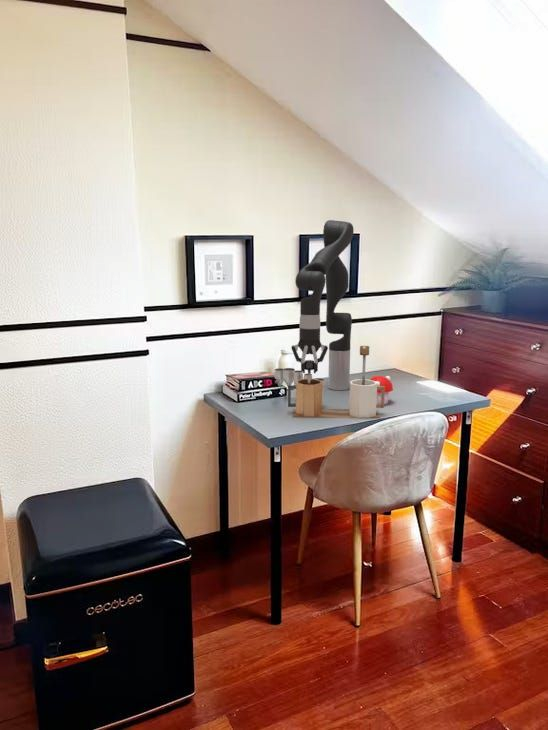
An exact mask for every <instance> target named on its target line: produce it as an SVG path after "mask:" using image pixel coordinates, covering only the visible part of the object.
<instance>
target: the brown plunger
mask: <svg viewBox="0 0 548 730" xmlns="http://www.w3.org/2000/svg"><path fill="white" fill-rule="evenodd" d="M359 356H362V372H361V373H362V375H361V376H362V377H361V379H362V385H365V379H366V360H367V359H366V358H367V357H366V356H370V346H369V345H360V346H359Z"/></svg>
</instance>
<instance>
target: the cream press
mask: <svg viewBox="0 0 548 730" xmlns="http://www.w3.org/2000/svg"><path fill="white" fill-rule="evenodd" d="M377 390H381V404H376V402H377ZM384 394H385V387H384V386H377V383H376V381H372V380H370V379H367V378H365V385H362V378H361V379H352V380H349V399H348V400H349V401H348V402H349V405H348V408H349V414H350V415H351V416H355V417H359V418H358V419H371V418H370V417H373V416H376V410H377V409H378V408H379V409H385V404H384Z"/></svg>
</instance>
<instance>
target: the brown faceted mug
mask: <svg viewBox="0 0 548 730" xmlns="http://www.w3.org/2000/svg"><path fill="white" fill-rule="evenodd" d="M292 389H294V390H295V403H292V402H291V401H292V400H291V395H292V394H291V393H292V392H291V391H292ZM287 407H288V408H295V409H296V415H299V416H302V417H316V416H319V415H322V409H323V392H322V381H321V380H317V379H314V378H312V379H311V383H310V385H308V379H304V378H303V379H301V380H296V385H293V384H291V385H288V386H287Z"/></svg>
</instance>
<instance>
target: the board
mask: <svg viewBox="0 0 548 730" xmlns="http://www.w3.org/2000/svg"><path fill="white" fill-rule="evenodd" d="M292 418H296V419H298V418H302V419H303V418H304V419H306V418H307V419H309V418H311V419H318V418H319V419H320V418H321V419H360V418H359V417H355V416H351V415H350V414H349V409H347V408H345V409H344V408H322V415H319V416H316V417H302V416H299V415H296V408H292ZM369 419H381V416H380V413H379V412H378V409H376V416H373V417H370V418H369Z"/></svg>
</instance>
